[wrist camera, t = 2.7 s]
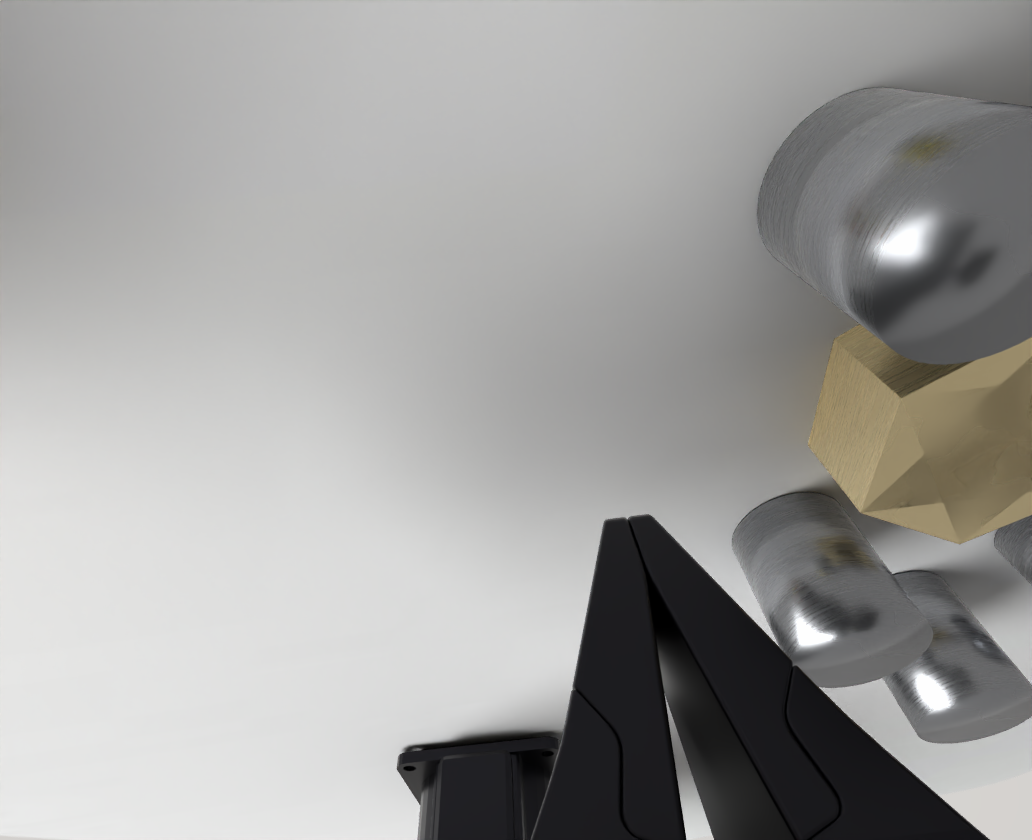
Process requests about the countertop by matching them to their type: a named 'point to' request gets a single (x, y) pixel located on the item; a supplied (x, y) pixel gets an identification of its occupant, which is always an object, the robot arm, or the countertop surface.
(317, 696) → the countertop surface
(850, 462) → the wooden star-faceted hexagon
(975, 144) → the spacers
